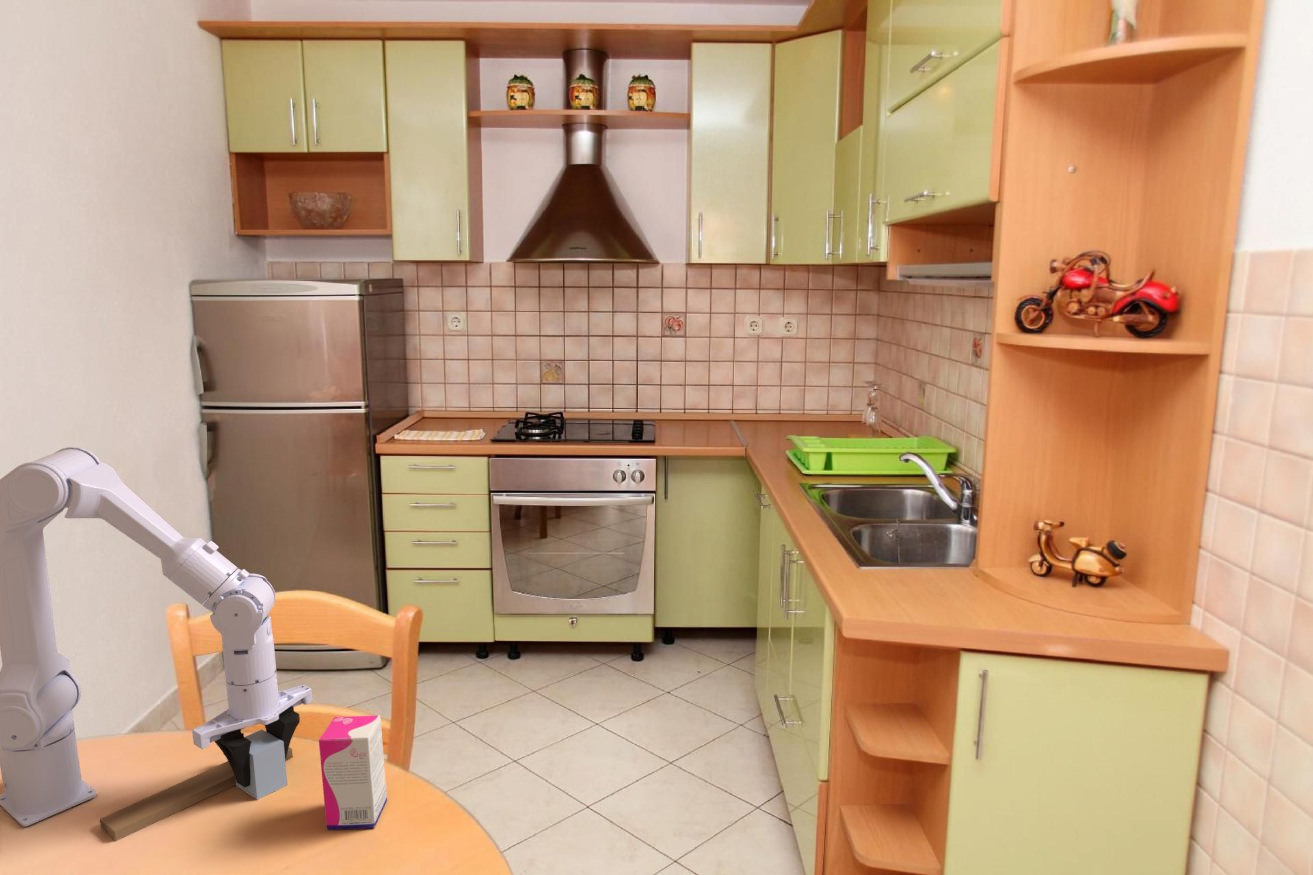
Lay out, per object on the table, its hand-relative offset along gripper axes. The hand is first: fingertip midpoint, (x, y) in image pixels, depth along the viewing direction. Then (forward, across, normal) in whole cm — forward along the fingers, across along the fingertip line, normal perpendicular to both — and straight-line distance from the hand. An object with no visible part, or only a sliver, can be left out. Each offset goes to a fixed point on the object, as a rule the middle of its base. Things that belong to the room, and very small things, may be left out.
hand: (261, 775), depth 113 cm
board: (+1, -5, +5) cm, 7 cm away
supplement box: (+2, +4, -15) cm, 15 cm away
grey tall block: (+1, 0, +3) cm, 3 cm away
